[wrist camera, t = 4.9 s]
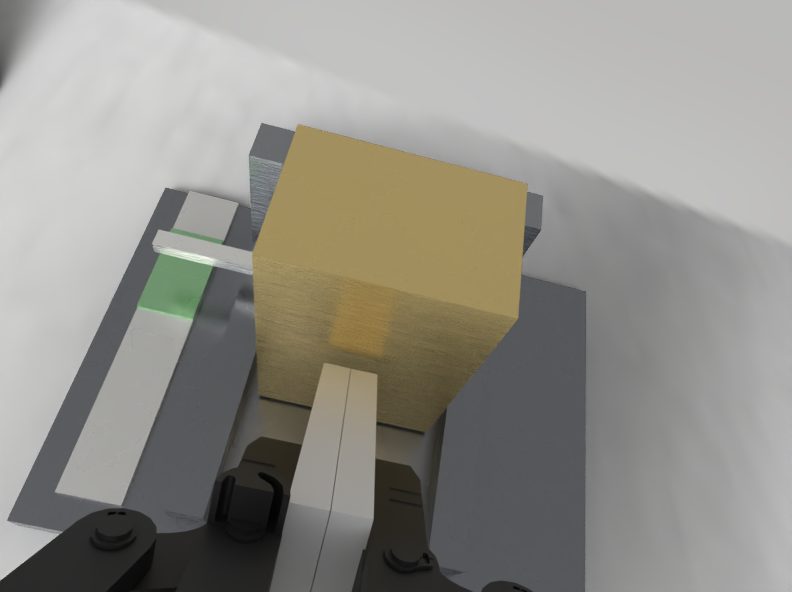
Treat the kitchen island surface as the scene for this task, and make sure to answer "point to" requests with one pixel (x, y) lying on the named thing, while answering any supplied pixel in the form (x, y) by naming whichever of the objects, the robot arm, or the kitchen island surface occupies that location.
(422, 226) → the brushed brass block
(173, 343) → the gauge bed
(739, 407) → the kitchen island surface
